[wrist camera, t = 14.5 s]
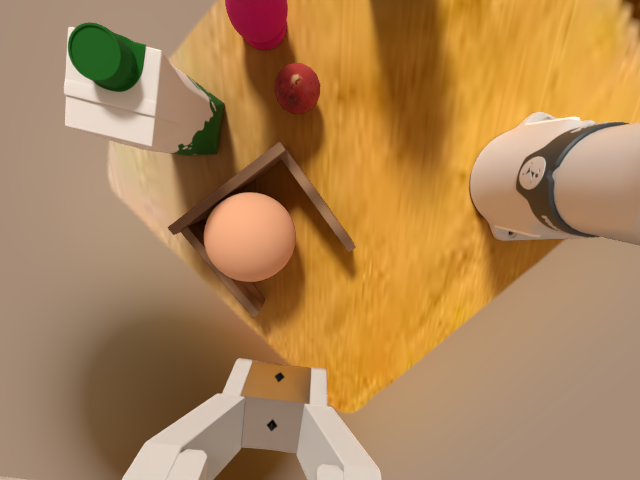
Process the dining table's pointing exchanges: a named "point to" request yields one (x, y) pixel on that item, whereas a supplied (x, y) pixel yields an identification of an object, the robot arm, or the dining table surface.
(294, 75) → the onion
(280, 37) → the pepper mill
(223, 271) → the rubber ball
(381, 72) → the dining table surface
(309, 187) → the corral
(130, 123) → the milk carton
